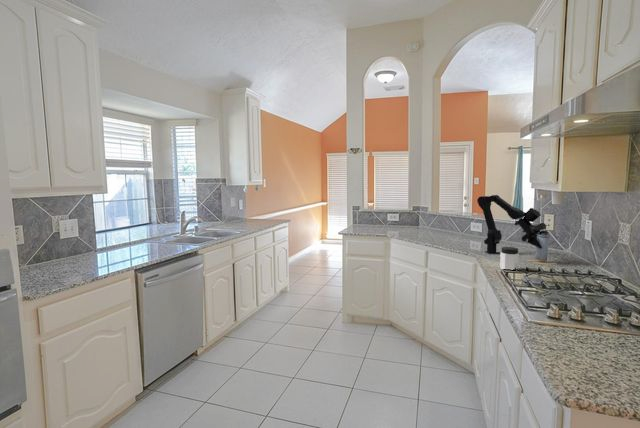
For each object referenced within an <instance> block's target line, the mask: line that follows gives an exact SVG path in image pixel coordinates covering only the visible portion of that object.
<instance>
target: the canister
mask: <svg viewBox="0 0 640 428" xmlns="http://www.w3.org/2000/svg"><path fill="white" fill-rule="evenodd" d="M537 240H538V242H539V243H540V245H541V246H542V248H541V249H540V248H538V247H536V246H535V247H536V248H535V259H534V260H539V261H547V260H548V254H549V243H550V234H547V235H545V233H542V234H537Z"/></svg>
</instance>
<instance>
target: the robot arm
mask: <svg viewBox="0 0 640 428" xmlns="http://www.w3.org/2000/svg"><path fill="white" fill-rule="evenodd" d="M476 201H477V205H478V206H479V208H480V209H481V210H482V213H483V216H484V219H485V223H486V227H487V236H486V238H485V239H484V240H483V243H484V245H486V250H485V251H484V252H485V253H487V254H489V255H491V254H499V252H498V251H497V244H500V242H501V240H502V238H503V235H502V231H501V230H500V229H497V227H496V223H495V220H494V217H493V213H492V210H491V207H492V203H494V204H496V205H498V206H499V207H500V208H501V209H503V210H504V211H505V212H506V213H507V216H509V217H510V219H512V220H515V221H514V222H515V223H514V226H519V227H520V228H521V229H522V233H525V234H524V235H522V237H521V241H522V242H523V243H528V244H530V245H533V246H535V247H538V248H540V249H541V248H542V246H541V245H540V243H539V242H538V240H537V234H542V233H545V235H550V234H549V232H548V231H547V224H546V223H545V222H541V223H539V224H537V225H536V224H532V223H534V222H535V221H536V220H538V218H540V217H541V213H540V211H538V210H537V209H534V208H533V207H530V208H529V209H528V210H527V211H526V212H524V211H523V210H522V209H520V208H517V207H515V206H512V205H511V204H510V203H508V202H507V201H506V200H504V199H503V198H501V197H500V196H499V195H498V194H493V195H485V196H484V195H482V196H478V197H477V200H476Z"/></svg>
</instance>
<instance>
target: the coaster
mask: <svg viewBox="0 0 640 428" xmlns="http://www.w3.org/2000/svg"><path fill="white" fill-rule="evenodd" d="M526 261H528V262H530V263H533V264H535V265H539V266H540V265H541V266H542V265H545V266H546V265H558V263H557V262H554V261H551V260H548V259H547V261H539V260H536V259H526Z"/></svg>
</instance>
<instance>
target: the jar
mask: <svg viewBox="0 0 640 428" xmlns="http://www.w3.org/2000/svg"><path fill="white" fill-rule="evenodd" d="M499 255H500V258H499V259H500V262H499V269H501V270H503V269H511V270H513V269H515V268H516V269H518V270H519V263H520V261H519V257H520V253H519V249H518V247H515V246H502V247H501V251H500V254H499Z"/></svg>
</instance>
